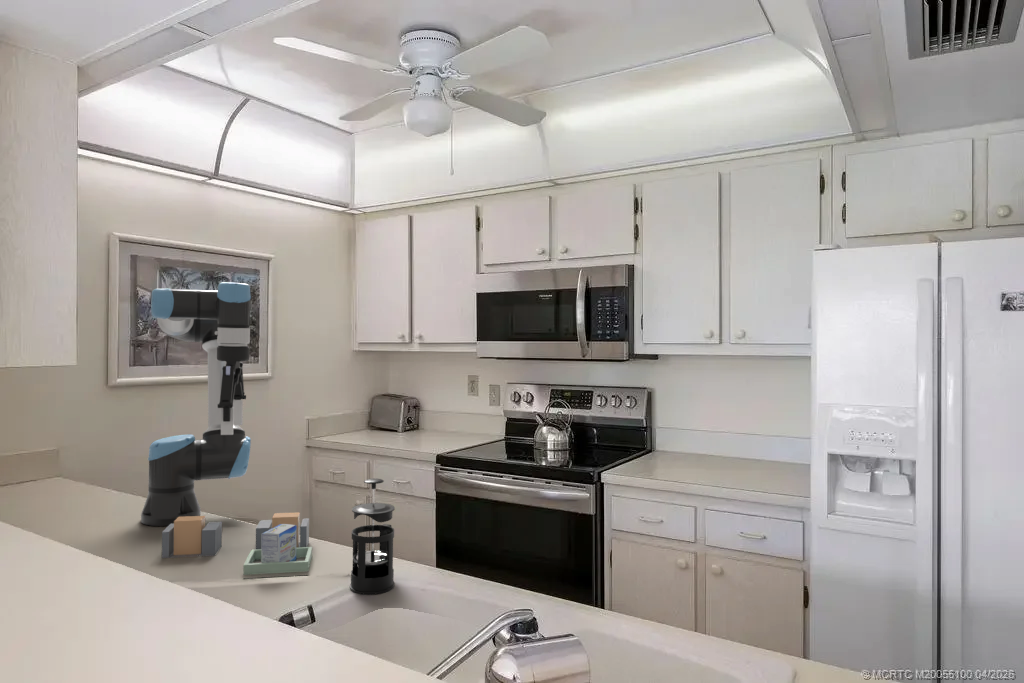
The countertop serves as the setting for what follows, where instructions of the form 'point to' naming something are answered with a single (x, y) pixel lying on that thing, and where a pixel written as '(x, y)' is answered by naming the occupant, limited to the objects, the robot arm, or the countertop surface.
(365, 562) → the french press
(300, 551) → the tray
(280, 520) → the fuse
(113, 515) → the countertop surface
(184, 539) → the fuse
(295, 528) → the medicine box
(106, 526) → the countertop surface
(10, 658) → the countertop surface
